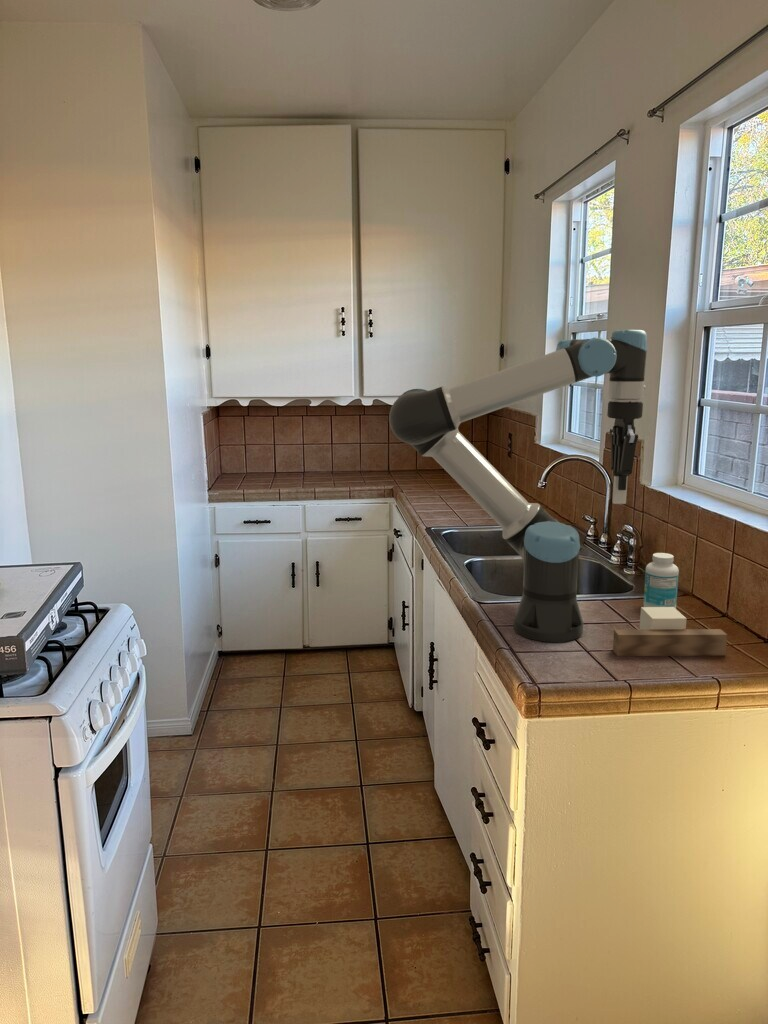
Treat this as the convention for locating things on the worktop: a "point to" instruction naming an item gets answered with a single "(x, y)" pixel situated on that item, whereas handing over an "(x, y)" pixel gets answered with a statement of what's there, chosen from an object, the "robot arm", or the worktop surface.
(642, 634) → the board
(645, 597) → the pill bottle
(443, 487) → the worktop surface
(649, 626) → the block
